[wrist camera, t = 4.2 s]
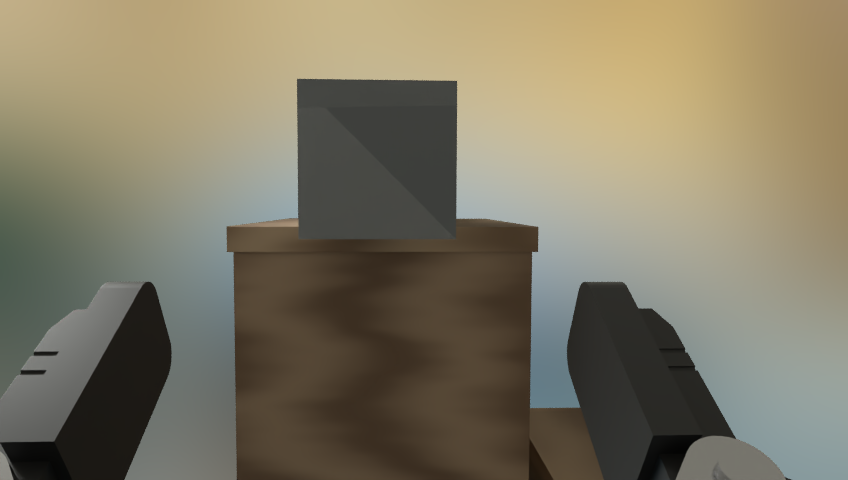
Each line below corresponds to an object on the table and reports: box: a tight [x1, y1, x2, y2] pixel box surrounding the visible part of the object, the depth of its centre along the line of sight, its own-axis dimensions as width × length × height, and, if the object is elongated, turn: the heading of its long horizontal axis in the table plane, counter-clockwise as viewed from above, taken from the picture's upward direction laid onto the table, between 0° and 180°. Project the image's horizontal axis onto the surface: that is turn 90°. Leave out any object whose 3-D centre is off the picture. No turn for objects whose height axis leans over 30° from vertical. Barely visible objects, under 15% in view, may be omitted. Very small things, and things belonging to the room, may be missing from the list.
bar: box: [297, 79, 457, 239], centre depth 27 cm, size 4×24×4 cm, turn 3°
